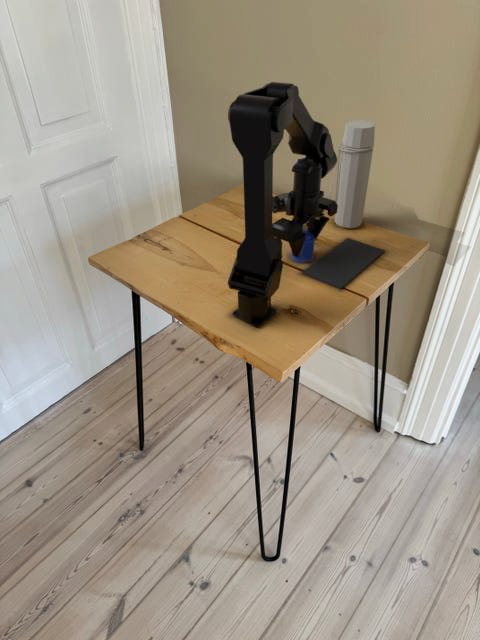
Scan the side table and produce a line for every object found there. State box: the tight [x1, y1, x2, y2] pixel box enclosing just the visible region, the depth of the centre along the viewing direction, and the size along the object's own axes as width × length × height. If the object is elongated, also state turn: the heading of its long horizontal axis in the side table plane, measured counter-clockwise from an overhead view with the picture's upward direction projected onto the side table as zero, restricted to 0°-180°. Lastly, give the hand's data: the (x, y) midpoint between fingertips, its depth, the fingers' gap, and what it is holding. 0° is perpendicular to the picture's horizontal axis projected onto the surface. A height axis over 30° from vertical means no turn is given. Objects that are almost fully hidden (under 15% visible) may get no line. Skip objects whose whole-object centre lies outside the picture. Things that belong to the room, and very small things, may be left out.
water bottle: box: [328, 119, 376, 230], centre depth 114 cm, size 9×8×25 cm
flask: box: [290, 224, 316, 264], centre depth 107 cm, size 5×5×8 cm
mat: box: [301, 237, 386, 290], centre depth 107 cm, size 20×10×1 cm, turn 140°
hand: (302, 251), depth 108 cm, fingers closed on flask, 5 cm apart
